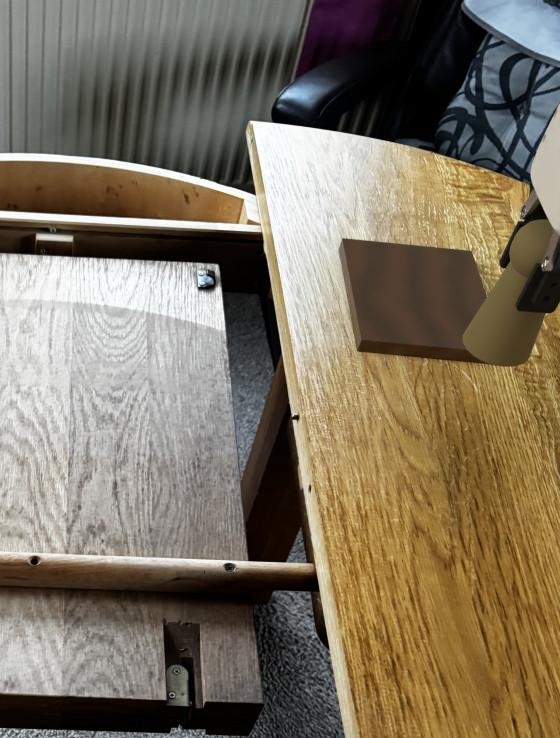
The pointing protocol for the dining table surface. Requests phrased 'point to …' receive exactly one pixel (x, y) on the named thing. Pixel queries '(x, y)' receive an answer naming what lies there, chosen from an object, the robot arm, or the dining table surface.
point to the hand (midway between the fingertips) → (525, 286)
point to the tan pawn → (510, 304)
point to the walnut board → (411, 298)
